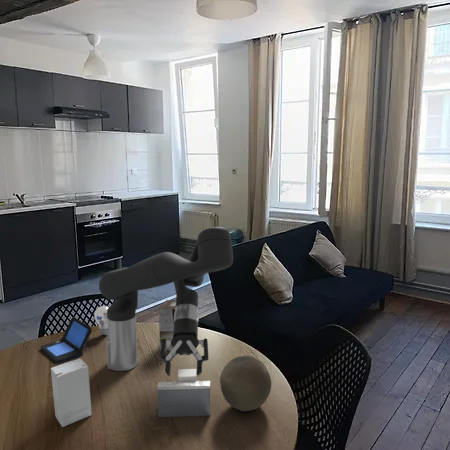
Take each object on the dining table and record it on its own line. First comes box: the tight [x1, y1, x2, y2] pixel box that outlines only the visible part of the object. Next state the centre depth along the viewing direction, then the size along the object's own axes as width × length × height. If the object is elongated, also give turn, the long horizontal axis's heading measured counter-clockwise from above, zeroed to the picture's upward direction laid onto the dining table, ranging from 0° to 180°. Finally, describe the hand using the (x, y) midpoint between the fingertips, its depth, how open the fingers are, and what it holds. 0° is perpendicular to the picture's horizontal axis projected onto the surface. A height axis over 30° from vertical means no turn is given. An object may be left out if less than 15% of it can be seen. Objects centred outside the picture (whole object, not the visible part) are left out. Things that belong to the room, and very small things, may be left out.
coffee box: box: [158, 299, 176, 352], centre depth 151 cm, size 9×6×16 cm
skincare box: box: [50, 357, 93, 428], centre depth 109 cm, size 8×6×15 cm
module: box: [177, 368, 198, 382], centre depth 114 cm, size 5×4×10 cm
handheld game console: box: [40, 316, 93, 364], centre depth 148 cm, size 16×13×9 cm
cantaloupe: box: [219, 355, 272, 412], centre depth 112 cm, size 14×14×15 cm
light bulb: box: [94, 305, 110, 337], centre depth 160 cm, size 7×7×12 cm
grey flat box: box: [157, 380, 211, 418], centre depth 111 cm, size 14×2×9 cm, turn 93°
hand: (183, 375), depth 117 cm, fingers open, 8 cm apart
